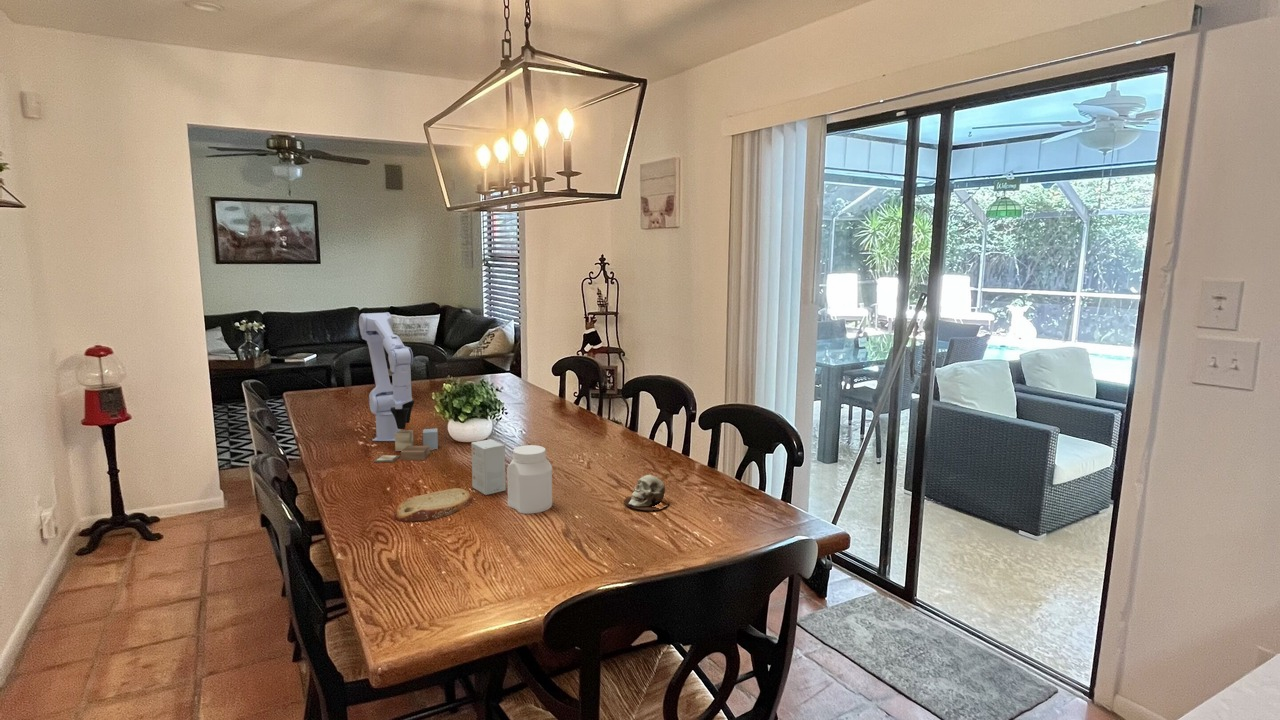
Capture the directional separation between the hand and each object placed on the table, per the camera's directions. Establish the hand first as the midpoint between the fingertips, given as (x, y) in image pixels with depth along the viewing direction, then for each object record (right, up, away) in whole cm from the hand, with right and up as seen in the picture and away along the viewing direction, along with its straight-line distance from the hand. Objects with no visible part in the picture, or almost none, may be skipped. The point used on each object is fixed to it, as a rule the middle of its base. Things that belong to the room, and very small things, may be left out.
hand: (403, 425), depth 222 cm
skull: (+79, -17, -43) cm, 92 cm away
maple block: (0, -8, +1) cm, 8 cm away
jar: (+49, -16, -46) cm, 69 cm away
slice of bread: (+25, -17, -48) cm, 57 cm away
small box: (+36, -14, -34) cm, 52 cm away
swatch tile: (-2, -10, -10) cm, 14 cm away
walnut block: (+6, -10, -6) cm, 13 cm away
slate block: (+8, -8, +3) cm, 12 cm away
